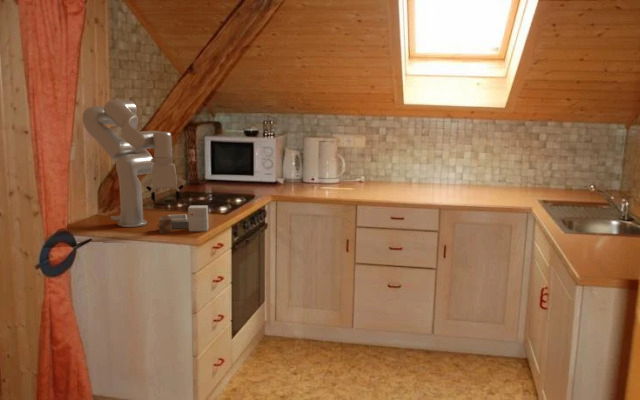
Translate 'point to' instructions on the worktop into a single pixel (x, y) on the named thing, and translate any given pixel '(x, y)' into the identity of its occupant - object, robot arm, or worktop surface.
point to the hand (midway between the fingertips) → (165, 200)
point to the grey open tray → (180, 221)
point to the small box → (198, 218)
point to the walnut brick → (165, 224)
